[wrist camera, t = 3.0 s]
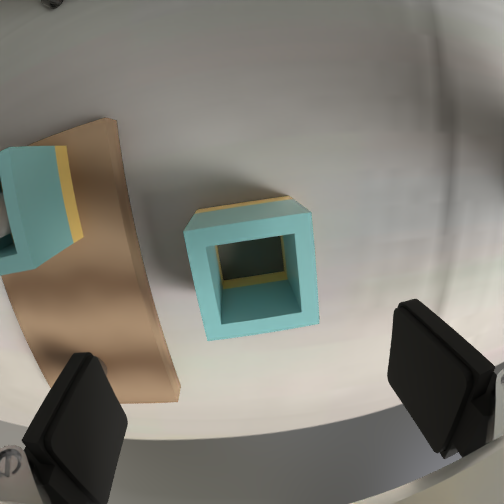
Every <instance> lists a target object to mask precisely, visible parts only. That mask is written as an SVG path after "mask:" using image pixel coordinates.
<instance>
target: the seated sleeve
mask: <svg viewBox="0 0 504 504" xmlns="http://www.w3.org/2000/svg"><path fill="white" fill-rule="evenodd" d="M2 192H3V195H4V200H5V205H6V210H7V215H8V219H9V224H10V228H11V232H12V233H10V234H8V235H6V236H3V237H1V238H0V276H1V275H6V274H11V273H16V272H22V271H27V270H32V269H36V268H37V267H38V266H40V265H41V264H43V263H44V262H46V261H47V260H49V259H50V258H52V257H53V256H55V255H56V254H58V253H59V252H61V251H62V250H64V249H66V248H67V247H69V246H70V245H72V244H73V243H75V242H76V241H78V240H80V239H81V238H83V237H84V236H83V232H82V227H81V223H80V219H79V214H78V210H77V205H76V200H75V195H74V190H73V185H72V179H71V173H70V167H69V161H68V154H67V147H66V146H22V147H8V148H6V149H4V150H2V151H0V193H2Z"/></svg>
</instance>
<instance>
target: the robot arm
mask: <svg viewBox="0 0 504 504" xmlns="http://www.w3.org/2000/svg"><path fill="white" fill-rule="evenodd" d="M494 369H495V366H494V365H493V364H492V363H491V362H490V361H489V360H487V359H486V358H485V357H484V356H483V355H482V354H481V353H480V352H479V351H478V350H476V349H475V348H474V347H473V346H472V345H471V344H470V343H469V342H467V341H466V340H465V339H464V338H463V337H462V336H461V335H459V334H458V333H457V332H456V331H455V330H454V329H452V328H451V327H450V326H449V325H448V324H447V323H445V322H444V321H443V320H442V319H441V318H440V317H438V316H437V315H436V314H435V313H434V312H432V311H431V310H430V309H429V308H428V307H426V306H425V305H424V304H423V303H422V302H420V301H419V300H418V299H412V300H408V301H405V302H401V303H399V305H398V308H396V309H395V310H394V315H393V328H392V339H391V348H390V357H389V365H388V373H387V377H388V381H389V384H390V385H391V387H392V388H393V390H394V391H395V393H396V394H397V396H398V397H399V399H400V400H401V402H402V403H403V405H404V406H405V408H406V409H407V410H408V412H409V413H410V415H411V417H412V418H413V420H414V421H415V423H416V424H417V426H418V427H419V429H420V430H421V432H422V434H423V435H424V437H425V438H426V440H427V441H428V443H429V444H430V446H431V448H432V449H433V451H434V452H436V453H439V452H440V454H441V456H442V457H443V458H444V459H446V458H448V457H450V456H452V455H454V454H455V453H458V452H459V453H460V455H461V456H462V458H461V459H459V460H457V461H456V462H453V463H452V464H450V465H447V466H445V467H443V468H442V469H439V470H437V471H435V472H433V473H430V474H428V475H426V476H424V477H422V478H419V479H417V480H415V481H412V482H410V483H408V484H405V485H403V486H400V487H398V488H395V489H393V490H390V491H387V492H384V493H381V494H379V495H376V496H373V497H370V498H367V499H364V500H360V501H357V502H354V503H350V504H504V369H503V370H502V371H500V372H499V374H498V375H496V374H495V373H494ZM127 424H128V421H127V417H126V414H125V412H124V411H123V409H122V407H121V405H120V403H119V401H118V399H117V397H116V395H115V393H114V391H113V389H112V387H111V385H110V383H109V381H108V379H107V377H106V374H105V372H104V370H103V368H102V366H101V363H100V361H99V359H98V358H97V357H96V356H93V354H92V353H90V352H81V353H74V354H73V355H72V356H71V358H70V359H69V361H68V362H67V364H66V365H65V367H64V368H63V370H62V372H61V373H60V375H59V376H58V378H57V380H56V381H55V383H54V385H53V386H52V388H51V390H50V391H49V393H48V395H47V396H46V398H45V400H44V401H43V403H42V405H41V406H40V408H39V410H38V412H37V413H36V415H35V417H34V419H33V420H32V422H31V424H30V426H29V428H28V430H27V431H26V433H25V435H24V437H23V439H22V442H23V443H24V444H25V446H26V447H25V449H24V450H23V449H22V448H21V447H19V446H16V445H8V446H4V447H2V448H0V504H107V502H108V499H109V495H110V491H111V487H112V482H113V478H114V474H115V470H116V466H117V462H118V458H119V454H120V451H121V447H122V443H123V440H124V436H125V432H126V429H127Z"/></svg>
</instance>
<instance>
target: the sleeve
mask: <svg viewBox="0 0 504 504" xmlns="http://www.w3.org/2000/svg"><path fill="white" fill-rule="evenodd" d="M183 233H184V238H185V243H186V248H187V253H188V258H189V263H190V267H191V272H192V277H193V281H194V286H195V290H196V295H197V299H198V303H199V308H200V312H201V316H202V320H203V324H204V328H205V333H206V337H207V341H212V340H220V339H228V338H235V337H242V336H249V335H256V334H262V333H269V332H275V331H281V330H287V329H293V328H298V327H304V326H310V325H315V324H319V306H318V289H317V274H316V261H315V248H314V236H313V225H312V215H311V212H310V211H309V210H308V209H306V208H305V207H304V206H302V205H301V204H299V203H298V202H297V201H295V200H294V199H293V198H291V197H290V196H284V197H277V198H270V199H263V200H256V201H249V202H242V203H236V204H229V205H223V206H216V207H210V208H204V209H198V210H196V212H195V214H194V215H193V217H192V218H191V220H190V221H189V223H188V225H187V226H186V228H185V229H184V231H183ZM274 236H280V240H281V248H282V257H283V266H284V271H282V272H276V273H270V274H263V275H257V276H250V277H243V278H237V279H230V280H223V275H222V269H221V264H220V258H219V253H218V247H217V245H221V244H228V243H234V242H241V241H248V240H254V239H261V238H268V237H274Z"/></svg>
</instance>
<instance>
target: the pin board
mask: <svg viewBox="0 0 504 504" xmlns="http://www.w3.org/2000/svg"><path fill="white" fill-rule="evenodd" d="M27 146H66V147H67V154H68V161H69V167H70V173H71V179H72V185H73V190H74V195H75V200H76V205H77V210H78V214H79V219H80V223H81V227H82V232H83V236H84V237H83V238H81V239H80V240H78V241H76V242H75V243H73V244H72V245H70V246H69V247H67V248H66V249H64V250H62V251H61V252H59V253H58V254H56V255H55V256H53V257H52V258H50V259H49V260H47V261H46V262H44V263H43V264H41V265H40V266H38V267H37V268H36V269H32V270H27V271H22V272H16V273H11V274H6V275H1V277H2V280H3V283H4V285H5V288H6V291H7V294H8V297H9V299H10V302H11V305H12V307H13V310H14V312H15V315H16V317H17V320H18V322H19V325H20V327H21V329H22V332H23V334H24V336H25V338H26V341H27V343H28V345H29V347H30V349H31V351H32V353H33V355H34V357H35V359H36V361H37V363H38V365H39V367H40V369H41V371H42V373H43V375H44V377H45V379H46V380H47V382H48V384H49V386H50V388H52V386H53V385H54V383H55V381H56V380H57V378H58V376H59V375H60V373H61V372H62V370H63V368H64V367H65V365H66V364H67V362H68V361H69V359H70V358H71V356H72V355H73V354H74V353H81V352H90V353H92V354H93V356H96V357H97V358H98V359H99V361H100V363H101V366H102V368H103V370H104V372H105V374H106V377H107V379H108V381H109V383H110V385H111V387H112V389H113V391H114V393H115V395H116V397H117V399H118V401H119V403H120V404H128V403H167V402H178V399H179V394H180V388H181V385H180V382H179V379H178V377H177V374H176V371H175V368H174V365H173V362H172V359H171V356H170V353H169V350H168V347H167V344H166V341H165V338H164V334H163V331H162V328H161V325H160V321H159V318H158V315H157V311H156V308H155V304H154V301H153V297H152V294H151V290H150V286H149V283H148V279H147V275H146V271H145V267H144V263H143V259H142V255H141V251H140V247H139V243H138V238H137V234H136V229H135V225H134V220H133V215H132V211H131V206H130V201H129V195H128V190H127V185H126V179H125V174H124V168H123V162H122V155H121V149H120V142H119V135H118V128H117V120H113V119H109V118H102V119H99V120H96V121H92V122H89V123H86V124H83V125H80V126H77V127H74V128H72V129H69V130H66V131H63V132H60V133H58V134H55V135H52V136H50V137H47V138H45V139H42V140H40V141H37V142H35V143H32V144H30V145H27ZM10 233H12V232H11V228H10V224H9V219H8V215H7V210H6V205H5V200H4V195H3V192H2V193H0V238H1V237H3V236H6V235H8V234H10Z"/></svg>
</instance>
